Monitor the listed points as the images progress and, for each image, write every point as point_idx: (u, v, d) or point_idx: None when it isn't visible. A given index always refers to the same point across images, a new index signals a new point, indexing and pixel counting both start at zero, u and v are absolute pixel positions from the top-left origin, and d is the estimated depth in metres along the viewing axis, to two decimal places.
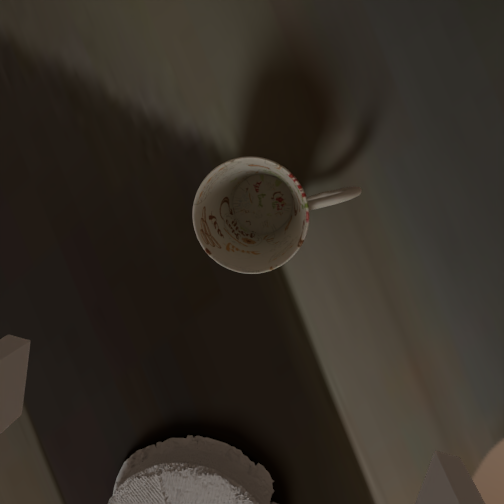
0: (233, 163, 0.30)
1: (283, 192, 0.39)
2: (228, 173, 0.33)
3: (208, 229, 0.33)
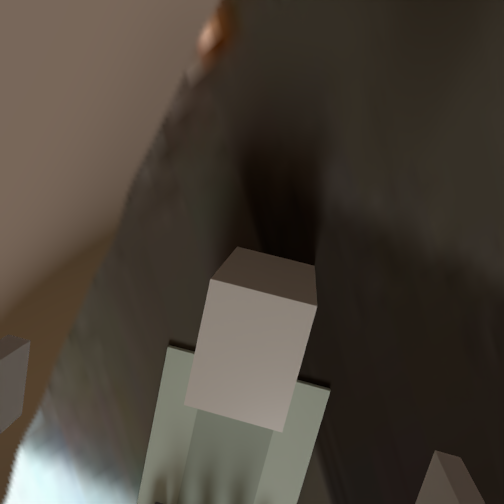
0: None
1: None
2: None
3: None
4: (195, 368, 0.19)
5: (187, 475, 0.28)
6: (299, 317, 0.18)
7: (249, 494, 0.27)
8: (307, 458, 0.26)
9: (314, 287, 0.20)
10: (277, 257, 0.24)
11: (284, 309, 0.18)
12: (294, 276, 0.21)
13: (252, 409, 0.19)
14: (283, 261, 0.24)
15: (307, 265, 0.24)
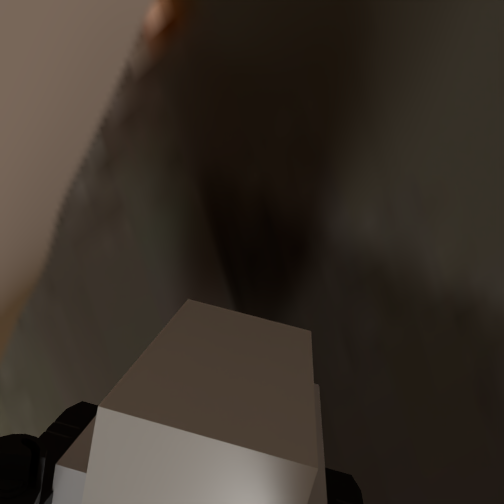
0: None
1: None
2: None
3: None
4: None
5: None
6: (280, 488, 0.09)
7: None
8: None
9: (311, 396, 0.11)
10: (251, 318, 0.15)
11: (251, 472, 0.09)
12: (276, 368, 0.12)
13: None
14: (260, 327, 0.14)
15: (299, 332, 0.15)
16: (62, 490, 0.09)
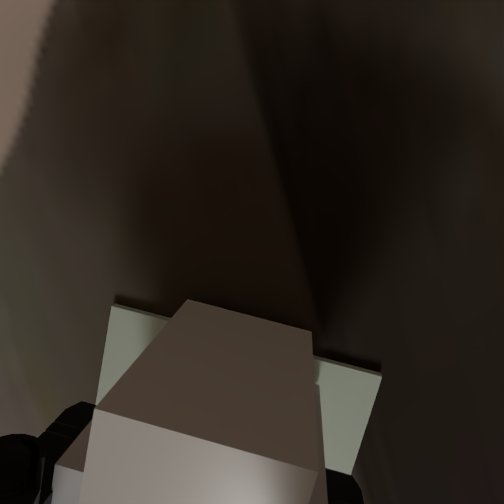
0: None
1: None
2: None
3: None
4: None
5: None
6: (279, 492, 0.08)
7: None
8: None
9: (312, 398, 0.11)
10: (251, 318, 0.15)
11: (250, 475, 0.08)
12: (276, 369, 0.12)
13: None
14: (260, 327, 0.14)
15: (300, 333, 0.15)
16: (61, 490, 0.09)
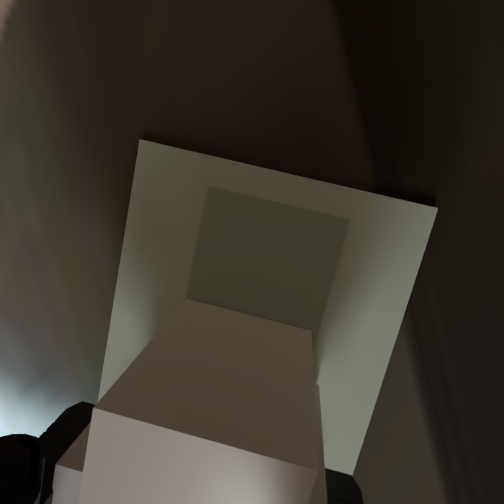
0: None
1: None
2: None
3: None
4: None
5: None
6: (279, 491, 0.08)
7: None
8: (390, 342, 0.15)
9: (311, 396, 0.11)
10: (251, 317, 0.15)
11: (249, 474, 0.08)
12: (276, 369, 0.12)
13: None
14: (260, 326, 0.14)
15: (299, 332, 0.15)
16: (62, 490, 0.09)
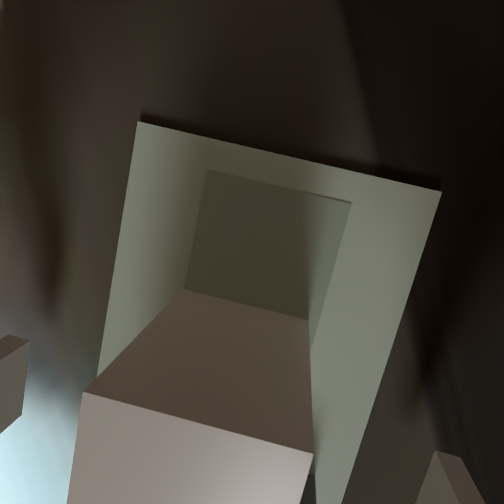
0: None
1: None
2: None
3: None
4: None
5: None
6: (274, 475, 0.08)
7: None
8: (392, 329, 0.15)
9: (308, 383, 0.10)
10: (247, 307, 0.15)
11: (244, 458, 0.08)
12: (272, 356, 0.11)
13: None
14: (256, 316, 0.14)
15: (297, 321, 0.14)
16: None
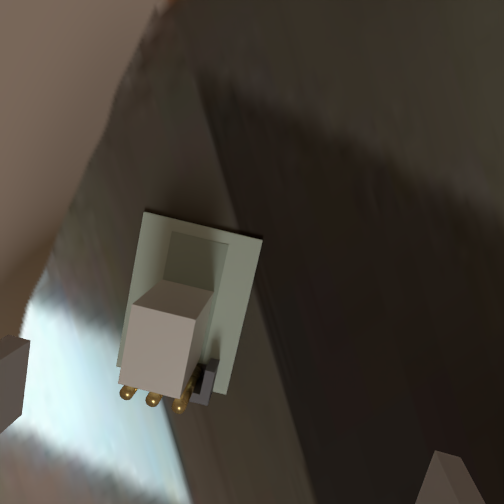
0: None
1: None
2: None
3: None
4: (124, 359, 0.30)
5: None
6: (185, 326, 0.29)
7: None
8: (247, 295, 0.36)
9: (202, 307, 0.32)
10: (188, 286, 0.36)
11: (177, 322, 0.29)
12: (192, 300, 0.33)
13: (160, 384, 0.30)
14: (191, 289, 0.35)
15: (208, 291, 0.36)
16: None
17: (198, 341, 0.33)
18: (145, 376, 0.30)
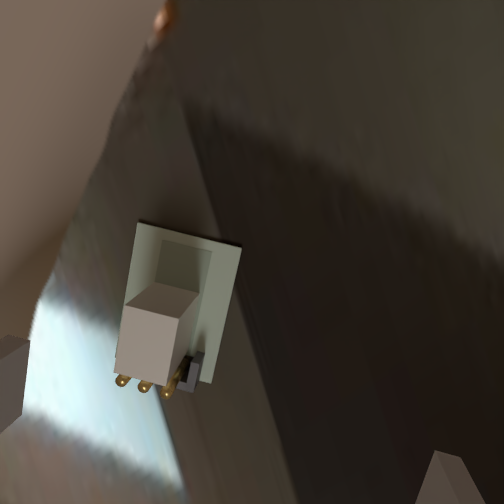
0: None
1: None
2: None
3: None
4: (118, 352, 0.35)
5: None
6: (170, 324, 0.34)
7: None
8: (229, 296, 0.41)
9: (186, 308, 0.36)
10: (177, 288, 0.41)
11: (163, 320, 0.34)
12: (178, 301, 0.37)
13: (149, 374, 0.35)
14: (179, 291, 0.40)
15: (194, 293, 0.40)
16: None
17: (184, 336, 0.38)
18: (136, 366, 0.35)
